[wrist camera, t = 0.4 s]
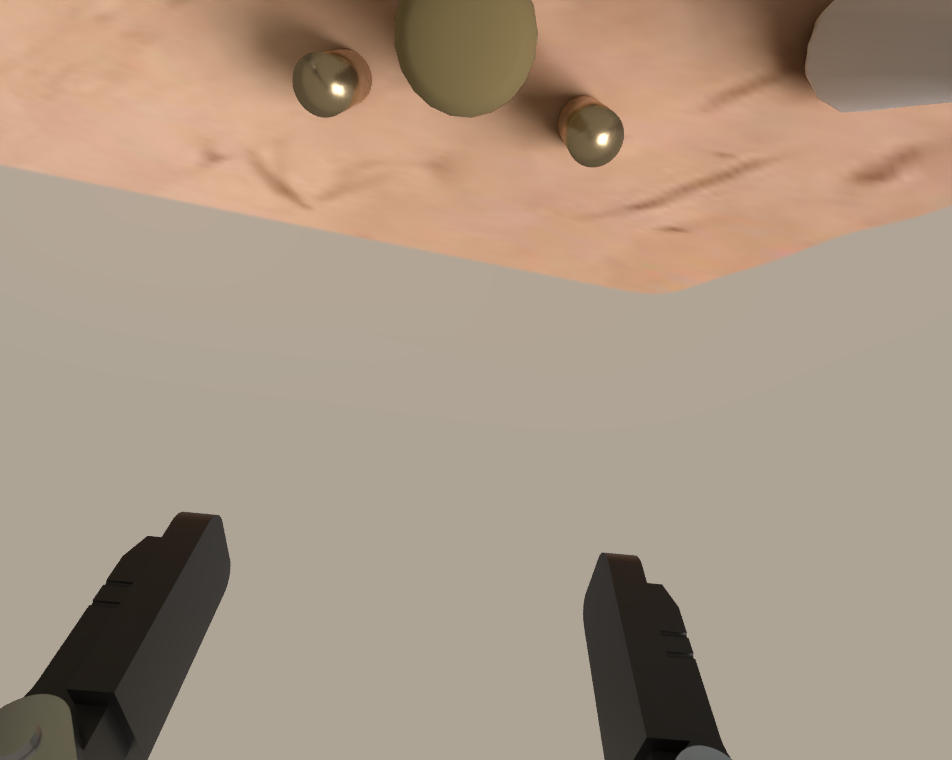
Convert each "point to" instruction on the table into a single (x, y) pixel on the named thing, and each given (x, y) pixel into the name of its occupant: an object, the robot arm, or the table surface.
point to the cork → (465, 51)
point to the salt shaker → (881, 54)
